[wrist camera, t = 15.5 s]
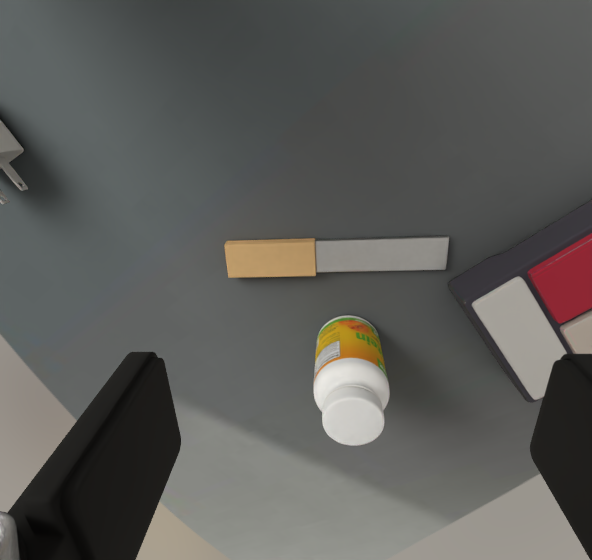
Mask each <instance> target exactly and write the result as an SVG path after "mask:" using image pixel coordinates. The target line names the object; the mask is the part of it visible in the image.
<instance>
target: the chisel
mask: <svg viewBox="0 0 592 560" xmlns="http://www.w3.org/2000/svg"><path fill="white" fill-rule="evenodd" d="M448 246H449V237H448V236H417V237H383V238H349V239H316V240H315V238H307V239H273V240H240V241H227V242H226V243H225V245H224V247H225V254H226V262H227V269H228V276H229V278H238V277H288V276H316V272H354V271H402V270H446V266H447V256H448Z"/></svg>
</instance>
